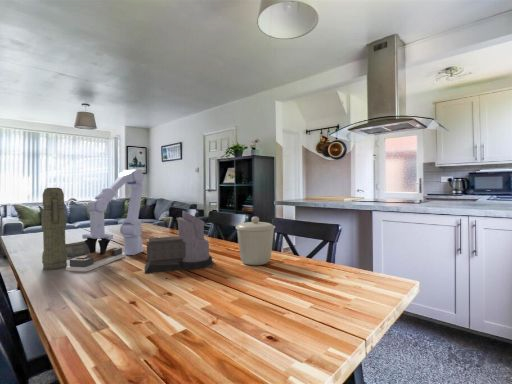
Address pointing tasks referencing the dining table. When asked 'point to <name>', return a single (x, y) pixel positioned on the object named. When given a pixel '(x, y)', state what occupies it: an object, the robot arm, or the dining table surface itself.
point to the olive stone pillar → (54, 229)
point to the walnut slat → (99, 255)
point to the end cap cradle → (89, 264)
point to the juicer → (180, 248)
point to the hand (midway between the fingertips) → (98, 254)
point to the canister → (255, 241)
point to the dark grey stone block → (77, 249)
